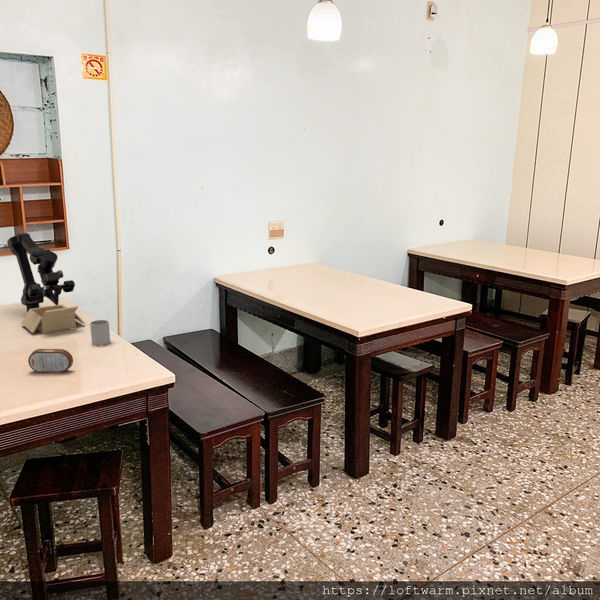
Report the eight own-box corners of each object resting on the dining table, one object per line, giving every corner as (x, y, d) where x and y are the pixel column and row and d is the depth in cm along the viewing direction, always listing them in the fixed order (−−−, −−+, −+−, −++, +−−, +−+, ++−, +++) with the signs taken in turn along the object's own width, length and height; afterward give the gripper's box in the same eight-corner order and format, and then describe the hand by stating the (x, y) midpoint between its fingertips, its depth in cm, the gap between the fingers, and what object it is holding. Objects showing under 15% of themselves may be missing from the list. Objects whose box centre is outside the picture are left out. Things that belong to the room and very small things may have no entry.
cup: (95, 347, 240) (93, 326, 238) (87, 340, 248) (85, 320, 245) (112, 344, 244) (111, 323, 242) (104, 337, 252) (103, 317, 249)
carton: (18, 324, 270) (16, 308, 269) (69, 315, 284) (67, 301, 282) (32, 335, 254) (31, 319, 252) (85, 326, 267) (84, 311, 266)
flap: (42, 317, 254) (42, 316, 254) (74, 312, 262) (73, 311, 263) (45, 312, 249) (45, 310, 249) (78, 307, 257) (77, 306, 257)
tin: (74, 370, 215) (72, 348, 213) (71, 373, 212) (69, 350, 210) (32, 370, 215) (29, 348, 212) (28, 373, 212) (25, 351, 209)
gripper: (27, 267, 252) (37, 297, 246) (71, 262, 263) (82, 291, 257) (23, 281, 259) (33, 311, 254) (67, 276, 271) (77, 305, 265)
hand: (57, 304), depth 258 cm, fingers closed
